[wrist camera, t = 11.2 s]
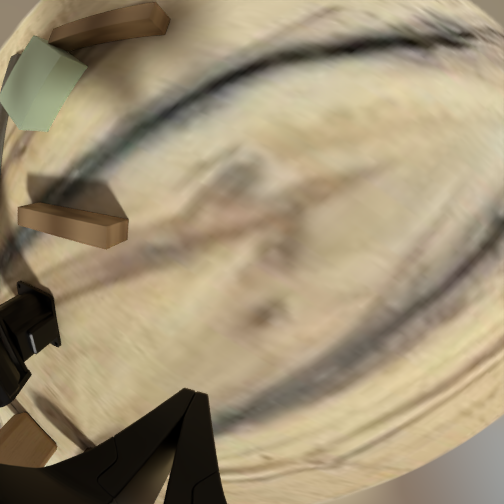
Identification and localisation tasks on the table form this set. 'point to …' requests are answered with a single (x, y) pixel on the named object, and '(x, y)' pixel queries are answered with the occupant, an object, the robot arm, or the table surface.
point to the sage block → (40, 85)
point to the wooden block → (25, 443)
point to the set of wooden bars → (67, 38)
